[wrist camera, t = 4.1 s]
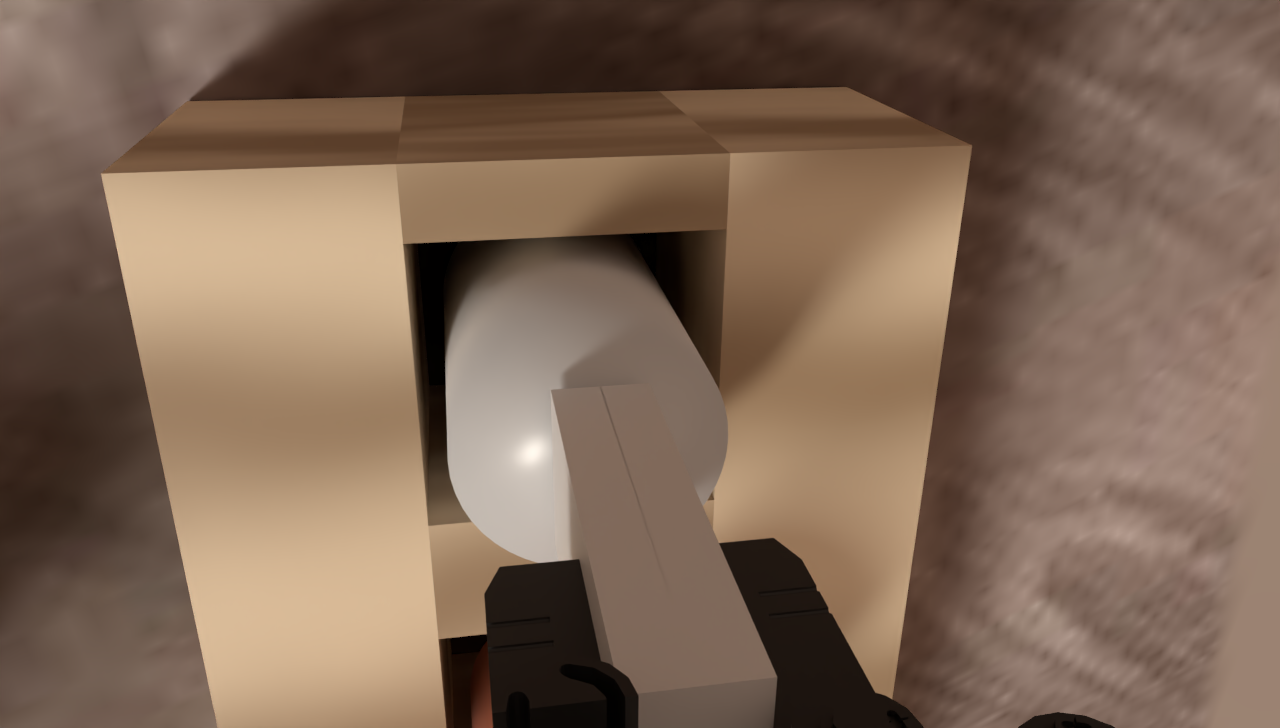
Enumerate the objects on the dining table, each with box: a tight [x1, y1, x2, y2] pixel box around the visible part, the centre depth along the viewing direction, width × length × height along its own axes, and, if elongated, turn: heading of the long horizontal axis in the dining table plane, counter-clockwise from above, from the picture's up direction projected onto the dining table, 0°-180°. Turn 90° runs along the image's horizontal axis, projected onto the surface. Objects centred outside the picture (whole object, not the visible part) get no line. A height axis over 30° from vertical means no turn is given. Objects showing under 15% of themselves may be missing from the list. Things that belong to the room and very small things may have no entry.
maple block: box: [101, 87, 972, 728], centre depth 24 cm, size 24×14×6 cm, turn 179°
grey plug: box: [443, 234, 728, 563], centre depth 19 cm, size 4×4×7 cm
